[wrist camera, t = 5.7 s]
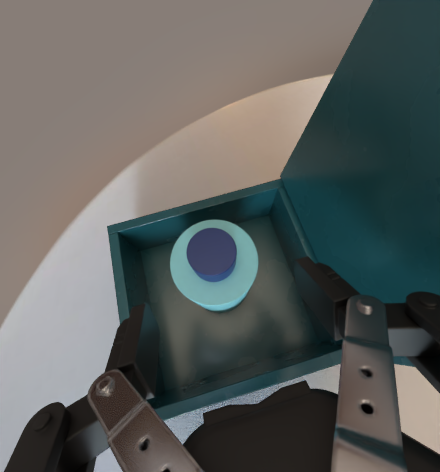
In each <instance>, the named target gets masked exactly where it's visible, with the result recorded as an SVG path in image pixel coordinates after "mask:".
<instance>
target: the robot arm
mask: <svg viewBox="0 0 440 472" xmlns="http://www.w3.org/2000/svg"><path fill="white" fill-rule="evenodd" d="M293 267H294V276H295V284H296V288H297V290H298V292H299V294H300V295H301V297H302V298H303V299H304V301H305V302H306V303H307V305H308V306H309V307H310V309H311V310H312V311H313V313H314V314H315V315H316V317H317V318H318V319H319V320H320V322H321V323H322V324H323V326H324V327H325V328H326V330H327V331H328V332H329V334H330V335H331V336H332V338H333V339H334V340H335V341H338V340H341V339H343V344H342V356H341V368H340V380H339V392H338V394H335V393H333V392H330V391H326V390H321V389H310V388H309V386H308V384H307V382H306V380H305V381H302V382H299V383H296V384H292V385H289V386H286V387H283V388H280V389H279V390H277V391H276V392H274V393H273V394H272V395H270V396H269V397H267V398H266V399H264V400H263V401H261V402H260V403H257V404H245V405H227V406H224V407H221V408H218V409H215V410H212V411H209V412H206V413H203V418H204V424H202V425H201V426H199V427H198V428H197V429H196V430H195V431H194V432H193V433H192V434H191V435H190V436H189V437H188V439H187V440H186V441H185V443H184V444H183V445H182V444H181V442H180V441H179V440H178V439H177V437H176V436H175V435H174V434H173V432H172V431H171V430H170V429H169V427H168V426H167V425H166V424H165V422H164V421H163V420H162V419H161V418H160V416H159V415H158V414H157V413H156V411H155V410H154V409H153V408H152V406H151V405H150V404H149V403H148V402H147V400H148V399H151V398H154V397H155V388H156V376H157V364H158V352H159V340H160V331H159V326H158V323H157V321H156V319H155V317H154V315H153V313H152V310H151V308H150V306H149V304H148V303H144V304H141V305H137V306H134V307H132V309H131V313H130V316H129V318H128V319H125V320H123V322H122V323H121V325H120V326H119V327H118V329H117V333H116V336H115V339H114V343H113V346H112V349H111V353H110V356H109V359H108V363H107V366H106V369H105V373H103V374H102V375H101V376H99V377H98V378H97V379H96V380H95V381H94V382H93V384H92V385H91V387H90V389H89V391H88V395H86V396H85V397H83V398H81V399H80V400H78V401H76V402H75V403H73V404H71V405H70V406H68V407H65V406H64V405H63V404H62V403H60V402H55V403H51V404H49V405H47V406H45V407H44V408H42V409H41V410H40V411H38V412H37V413H36V414H35V415H34V416H33V417H32V418H31V419H30V421H29V422H28V423H27V425H26V426H25V428H24V430H23V432H22V435H21V437H20V439H19V441H18V443H17V445H16V447H15V449H14V452H13V454H12V456H11V458H10V460H9V462H8V464H7V467H6V469H5V471H4V472H93V471H94V466H95V461H96V456H98V455H99V454H100V453H102V452H103V451H105V450H106V449H108V448H109V447H110V448H111V450H112V452H113V454H114V456H115V458H116V460H117V461H118V463H119V465H120V467H121V469H122V471H123V472H440V454H438V453H437V452H435V451H433V450H432V449H430V448H428V447H426V446H425V445H423V444H421V443H420V442H418V441H416V440H415V439H413V438H411V437H410V436H408V435H406V434H405V433H403V432H401V426H400V416H399V407H398V397H397V388H396V378H395V369H394V360H393V356H406V358H407V359H408V360H409V361H410V362H411V363H412V364H413V365H414V366H415V367H416V368H417V369H418V370H419V371H420V373H421V374H422V375H423V376H424V377H425V378H426V379H427V380H428V381H429V382H430V383H431V384H432V385H433V387H434V388H435V389H436V390H437V391H438V392H439V393H440V296H439V295H437V294H434V293H430V292H422V291H419V292H413V293H410V294H409V295H408V296H407V297H406V303H383V302H382V301H380V300H379V299H377V298H375V297H373V296H370V295H361V294H360V293H359V292H358V291H357V290H356V289H354V288H353V287H352V286H351V285H350V284H349V283H348V282H347V281H345V280H344V279H343V278H341V276H340V275H339V274H337V273H336V272H335V271H334V270H333V269H332V268H331V267H330V266H328V265H325V264H323V263H320V262H319V263H314V262H313V261H312V260H311V259H310V258H309V257H308V256H306V257H303V258H299V259H296V260H294V261H293Z"/></svg>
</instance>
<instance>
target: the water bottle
mask: <svg viewBox="0 0 440 472" xmlns="http://www.w3.org/2000/svg"><path fill="white" fill-rule="evenodd" d="M170 270H171V275H172V278H173V280H174V283H175V284H176V286H177V288H178V289H179V290H180V291H181V293H182V294H183V295H185V296H186V297H187V298H189V299H190V300H192V301H193V302H195V303H197V304H198V305H200V306H201V307H203V308H205V309H207V310H209V311H212V312H216V313H223V312H228V311H231V310H233V309H235V308H236V307H238V306H239V305H240V304H241V303H242V301H243V300H244V298H245V297H246V295H247V293H248V291H249V289H250V288H251V286H252V284H253V282H254V280H255V277H256V275H257V271H258V253H257V250H256V247H255V244H254V242H253V241H252V239H251V238H250V236H249V235H248V234H247V233H246V232H245V231H244V230H243V229H242V228H240V227H239V226H237V225H235V224H233V223H231V222H228V221H224V220H206V221H202V222H199V223H197V224H195V225H193V226H191V227H190V228H188V229H187V230H186V231H184V232H183V233H182V234H181V236H180V237H179V238H178V239H177V241H176V243H175V245H174V247H173V249H172V253H171V257H170Z"/></svg>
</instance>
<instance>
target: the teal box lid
mask: <svg viewBox="0 0 440 472" xmlns="http://www.w3.org/2000/svg"><path fill="white" fill-rule="evenodd" d="M280 177H281V179H282V181H283V183H284V186H285V188H286V190H287V192H288V195H289V197H290V199H291V201H292V204H293V206H294V208H295V210H296V213H297V215H298V217H299V219H300V222H301V224H302V226H303V228H304V231H305V233H306V235H307V237H308V240H309V242H310V244H311V246H312V249H313V251H314V253H315V255H316V258H317V260H318V262H320V263H323V264H325V265H328V266H330V267H331V268H332V269H333V270H334V271H335V272H336V273H337V274H339V275H340V276H341V278H343V279H344V280H345V281H347V282H348V283H349V284H350V285H351V286H352V287H353V288H354V289H356V290H357V291H358V292H359V293H360V294H361V295H370V296H373V297H375V298H377V299H379V300H380V301H382V302H383V303H406V297H407V296H408V295H409V294H410V293H413V292H419V291H422V292H430V293H434V294H437V295H439V296H440V0H373V1H372V3H371V5H370V7H369V9H368V11H367V13H366V15H365V17H364V18H363V20H362V22H361V24H360V26H359V28H358V30H357V32H356V33H355V35H354V37H353V39H352V41H351V43H350V45H349V47H348V49H347V50H346V53H345V54H344V56H343V58H342V60H341V62H340V64H339V66H338V67H337V69H336V71H335V73H334V75H333V77H332V79H331V81H330V83H329V84H328V86H327V88H326V90H325V92H324V94H323V96H322V98H321V100H320V101H319V103H318V105H317V107H316V109H315V111H314V113H313V115H312V117H311V118H310V120H309V122H308V124H307V126H306V128H305V130H304V132H303V134H302V135H301V137H300V139H299V141H298V143H297V145H296V147H295V149H294V151H293V152H292V154H291V156H290V158H289V160H288V162H287V164H286V166H285V167H284V169H283V171H282V173H281V175H280ZM393 360H394V364H399V365H405V366H412V367H415V366H414V365H413V364H412V363H411V362H410V361H409V360H408V359H407V358H406V356H393Z"/></svg>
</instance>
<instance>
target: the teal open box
mask: <svg viewBox="0 0 440 472" xmlns="http://www.w3.org/2000/svg"><path fill="white" fill-rule="evenodd" d="M206 220H224V221H228V222H231V223H233V224H235V225H237V226H239V227H240V228H242V229H243V230H244V231H245V232H246V233H247V234H248V235H249V236H250V238H251V239H252V241H253V242H254V244H255V247H256V250H257V253H258V271H257V275H256V277H255V280H254V282H253V284H252V286H251V288H250V289H249V291H248V293H247V295H246V297H245V298H244V300H243V301H242V303H241V304H240V305H239V306H238V307H236V308H235V309H233V310H231V311H228V312H223V313H216V312H212V311H209V310H207V309H205V308H203V307H201V306H200V305H198V304H197V303H195V302H193V301H192V300H190V299H189V298H187V297H186V296H185V295H183V294H182V293H181V291H180V290H179V289H178V288H177V286H176V284H175V283H174V280H173V278H172V275H171V270H170V257H171V253H172V249H173V247H174V245H175V243H176V241H177V239H178V238H179V237H180V236H181V234H182V233H183V232H184V231H186V230H187V229H188V228H190V227H191V226H193V225H195V224H197V223H199V222H202V221H206ZM107 228H108V235H109V243H110V251H111V258H112V266H113V274H114V282H115V289H116V297H117V305H118V312H119V320H120V325H121V323H122V322H123V320H125V319H128V318H129V316H130V313H131V309H132V307H134V306H137V305H141V304H144V303H148V304H149V306H150V308H151V310H152V313H153V315H154V317H155V319H156V321H157V323H158V326H159V331H160V340H159V352H158V364H157V376H156V388H155V397H154V398H151V399H148V400H147V402H148V403H149V404H150V405H151V406H152V408H153V409H154V410H155V411H156V413H157V414H158V415H159V416H160V418H161V419H162V420H163V421H165V420H169V419H172V418H175V417H178V416H181V415H184V414H187V413H190V412H193V411H196V410H199V409H202V408H205V407H208V406H212V405H215V404H218V403H221V402H224V401H227V400H230V399H233V398H236V397H239V396H242V395H245V394H248V393H252V392H255V391H258V390H261V389H264V388H267V387H270V386H273V385H276V384H279V383H282V382H285V381H288V380H291V379H295V378H298V377H301V376H304V375H307V374H310V373H313V372H316V371H319V370H322V369H325V368H328V367H331V366H335V365H338V364H341V356H342V344H343V339H341V340H338V341H335V340H334V339H333V338H332V336H331V335H330V334H329V332H328V331H327V330H326V328H325V327H324V326H323V324H322V323H321V322H320V320H319V319H318V318H317V317H316V315H315V314H314V313H313V311H312V310H311V309H310V307H309V306H308V305H307V303H306V302H305V301H304V299H303V298H302V297H301V295H300V294H299V292H298V290H297V288H296V284H295V276H294V267H293V261H294V260H296V259H299V258H303V257H306V256H308V257H309V258H310V259H311V260H312V261H313V262H314V263H319V262H318V260H317V258H316V255H315V253H314V251H313V249H312V246H311V244H310V242H309V240H308V237H307V235H306V233H305V231H304V228H303V226H302V224H301V222H300V219H299V217H298V215H297V213H296V210H295V208H294V206H293V204H292V201H291V199H290V197H289V195H288V192H287V190H286V188H285V186H284V183H283V181H282V179H278V180H275V181H271V182H267V183H264V184H260V185H256V186H253V187H249V188H245V189H242V190H238V191H234V192H231V193H227V194H223V195H220V196H216V197H212V198H209V199H205V200H202V201H198V202H194V203H191V204H187V205H183V206H180V207H176V208H172V209H169V210H165V211H161V212H158V213H154V214H150V215H147V216H143V217H139V218H136V219H132V220H128V221H125V222H121V223H118V224H114V225H110V226H107Z"/></svg>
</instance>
